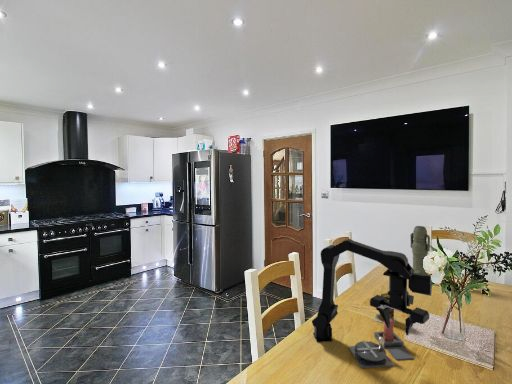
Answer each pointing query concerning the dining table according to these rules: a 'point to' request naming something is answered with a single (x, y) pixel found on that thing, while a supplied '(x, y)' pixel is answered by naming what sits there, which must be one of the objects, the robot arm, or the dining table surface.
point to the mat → (400, 353)
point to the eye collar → (388, 344)
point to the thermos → (419, 248)
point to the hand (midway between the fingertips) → (397, 331)
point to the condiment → (379, 317)
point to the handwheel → (371, 350)
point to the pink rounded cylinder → (388, 332)
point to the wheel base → (370, 364)
